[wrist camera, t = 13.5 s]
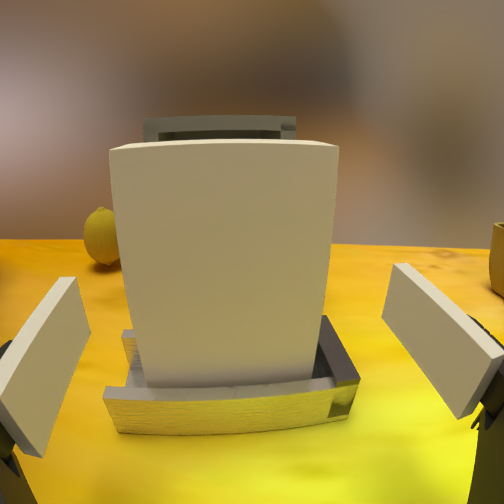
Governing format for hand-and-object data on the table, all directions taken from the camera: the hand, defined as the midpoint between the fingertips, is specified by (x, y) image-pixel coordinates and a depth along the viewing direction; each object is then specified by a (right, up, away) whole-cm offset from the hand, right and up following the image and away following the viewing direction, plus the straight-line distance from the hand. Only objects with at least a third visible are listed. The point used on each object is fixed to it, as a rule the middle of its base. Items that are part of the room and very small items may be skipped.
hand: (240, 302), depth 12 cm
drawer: (-1, -8, +8) cm, 12 cm away
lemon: (-18, 0, +27) cm, 33 cm away
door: (-1, -8, +8) cm, 11 cm away
